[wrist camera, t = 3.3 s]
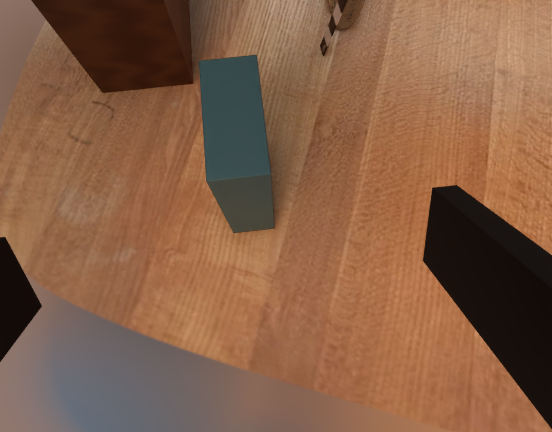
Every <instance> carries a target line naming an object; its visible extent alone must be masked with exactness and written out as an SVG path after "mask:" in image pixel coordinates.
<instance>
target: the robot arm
mask: <svg viewBox="0 0 552 432" xmlns="http://www.w3.org/2000/svg"><path fill="white" fill-rule="evenodd" d="M423 261H424V263H425V264H426V265H427V267H428V268H429V269H430V270H431V272H432V273H433V274H434V276H435V277H436V278H437V280H438V281H439V282H440V284H441V285H442V286H443V287H444V289H445V290H446V291H447V293H448V294H449V295H450V297H451V298H452V299H453V301H454V302H455V303H456V304H457V306H458V307H459V308H460V310H461V311H462V312H463V314H464V315H465V316H466V318H467V319H468V320H469V321H470V323H471V324H472V325H473V327H474V328H475V329H476V331H477V332H478V333H479V335H480V336H481V337H482V338H483V340H484V341H485V342H486V344H487V345H488V346H489V348H490V349H491V350H492V352H493V353H494V354H495V355H496V357H497V358H498V359H499V361H500V362H501V363H502V365H503V366H504V367H505V369H506V370H507V371H508V372H509V374H510V375H511V376H512V378H513V379H514V380H515V382H516V383H517V384H518V386H519V387H520V388H521V389H522V391H523V392H524V393H525V395H526V396H527V397H528V399H529V400H530V401H531V403H532V404H533V405H534V406H535V408H536V409H537V410H538V412H539V413H540V414H541V416H542V417H543V418H544V420H545V421H546V422H547V423H548V425H549V426H550V427H551V429H552V255H551V254H549V253H548V252H547V251H545V250H544V249H543V248H541V247H540V246H539V245H537V244H536V243H534V242H533V241H532V240H530V239H529V238H528V237H526V236H525V235H524V234H522V233H521V232H520V231H518V230H517V229H515V228H514V227H513V226H511V225H510V224H509V223H507V222H506V221H505V220H503V219H502V218H501V217H499V216H498V215H496V214H495V213H494V212H492V211H491V210H490V209H488V208H487V207H486V206H484V205H483V204H482V203H480V202H479V201H477V200H476V199H475V198H473V197H472V196H471V195H469V194H468V193H467V192H465V191H464V190H463V189H461V188H460V187H458V186H457V185H454V186H445V187H436V188H432V195H431V202H430V210H429V218H428V226H427V234H426V241H425V249H424V257H423ZM41 306H42V305H41V303H40V302H39V300H38V298H37V296H36V294H35V292H34V290H33V288H32V287H31V285H30V283H29V281H28V279H27V277H26V275H25V273H24V271H23V270H22V268H21V266H20V264H19V262H18V260H17V258H16V256H15V255H14V253H13V251H12V249H11V247H10V245H9V243H8V241H7V240H6V238H5V237H0V362H1V360H2V359H3V358H4V356H5V355H6V354H7V352H8V351H9V349H10V348H11V347H12V346H13V344H14V343H15V342H16V340H17V339H18V337H19V336H20V335H21V333H22V332H23V331H24V329H25V328H26V327H27V325H28V324H29V323H30V321H31V320H32V319H33V317H34V316H35V315H36V313H37V312H38V311H39V309H40V308H41Z"/></svg>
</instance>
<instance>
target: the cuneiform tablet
mask: <svg viewBox="0 0 552 432" xmlns="http://www.w3.org/2000/svg"><path fill="white" fill-rule="evenodd" d="M328 1H329V6H330V9H331V13H332V17H331V20H330V22H329V25H328V27H327V30H326V32H325V35H324V37H323V40H322V42H321V45H320V47H321V51H322V55H323V56H324V55H325V52H326V50H327V48H328V45H329V43H330V41H331V38H332V36H333V34H334V31H335V29H336V28H337V29H348V28H349V27H350V26H351V25H352V24H353V23H354V21H355V20H356V19H357V17H358V16H359V14H360V12H361V9H362V7H363V5H364V2H365V0H328Z"/></svg>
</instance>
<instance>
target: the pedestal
mask: <svg viewBox="0 0 552 432" xmlns="http://www.w3.org/2000/svg"><path fill="white" fill-rule="evenodd" d="M32 2H33V3H34V4H35V6H36V7H37V8H38V9H39V11H40V12H41V13H42V15H43V16H44V17H45V19H46V20H47V21H48V22H49V24H50V25H51V26H52V28H53V29H54V30H55V32H56V33H57V34H58V35H59V37H60V38H61V39H62V41H63V42H64V43H65V45H66V46H67V47H68V48H69V50H70V51H71V52H72V54H73V55H74V56H75V58H76V59H77V60H78V61H79V63H80V64H81V65H82V67H83V68H84V69H85V70H86V72H87V73H88V74H89V76H90V77H91V78H92V80H93V81H94V82H95V83H96V85H97V86H98V87H99V89H100V90H101V91H102V93H107V92H116V91H126V90H136V89H145V88H155V87H164V86H174V85H183V84H193V67H192V50H191V32H190V14H189V0H32Z"/></svg>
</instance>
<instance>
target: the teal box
mask: <svg viewBox="0 0 552 432" xmlns="http://www.w3.org/2000/svg"><path fill="white" fill-rule="evenodd" d="M199 71H200V87H201V103H202V119H203V134H204V150H205V166H206V181H207V183H208V185H209V187H210V189H211V191H212V193H213V194H214V196H215V198H216V200H217V202H218V204H219V206H220V208H221V210H222V212H223V214H224V216H225V218H226V219H227V221H228V223H229V225H230V227H231V229H232V231H233V233H238V232H246V231H255V230H264V229H272V228H274V212H273V195H272V178H271V168H270V159H269V151H268V143H267V135H266V127H265V118H264V110H263V102H262V94H261V86H260V77H259V69H258V61H257V55H250V56H241V57H231V58H221V59H212V60H202V61H199Z"/></svg>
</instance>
